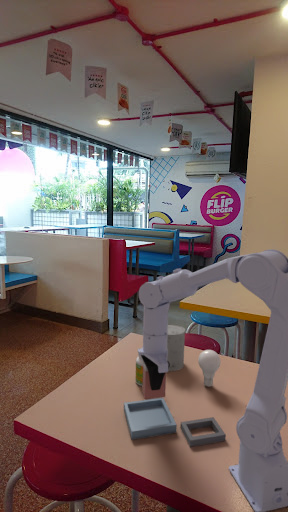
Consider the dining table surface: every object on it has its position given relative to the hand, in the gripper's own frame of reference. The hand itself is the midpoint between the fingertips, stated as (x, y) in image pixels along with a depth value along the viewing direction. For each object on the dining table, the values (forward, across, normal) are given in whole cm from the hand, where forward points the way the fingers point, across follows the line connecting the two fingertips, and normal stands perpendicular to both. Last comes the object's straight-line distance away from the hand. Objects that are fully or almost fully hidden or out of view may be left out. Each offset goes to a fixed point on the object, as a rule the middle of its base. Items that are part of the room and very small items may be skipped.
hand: (153, 385), depth 72 cm
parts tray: (+10, 0, -1) cm, 10 cm away
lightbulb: (+10, -12, +20) cm, 25 cm away
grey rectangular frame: (+9, +6, +10) cm, 15 cm away
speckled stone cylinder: (+10, -27, +13) cm, 31 cm away
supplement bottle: (+10, -18, +2) cm, 20 cm away
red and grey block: (+2, 0, 0) cm, 2 cm away
